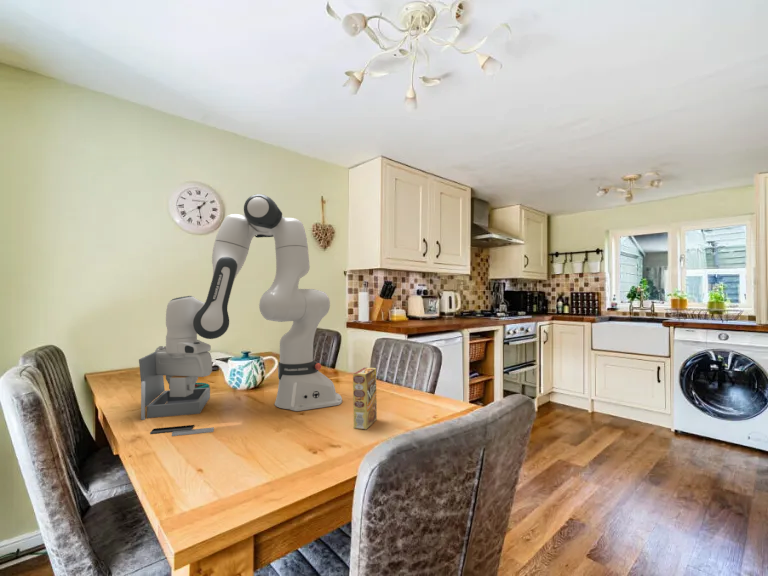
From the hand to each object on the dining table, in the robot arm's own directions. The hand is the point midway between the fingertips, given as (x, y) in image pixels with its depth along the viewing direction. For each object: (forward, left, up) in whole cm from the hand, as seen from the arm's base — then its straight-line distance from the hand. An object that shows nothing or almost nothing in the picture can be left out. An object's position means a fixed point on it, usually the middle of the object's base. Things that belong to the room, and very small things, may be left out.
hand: (181, 389), depth 118 cm
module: (0, 0, -2) cm, 2 cm away
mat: (-2, +15, -7) cm, 16 cm away
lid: (+8, 0, +5) cm, 9 cm away
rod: (-8, +22, -7) cm, 25 cm away
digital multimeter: (+3, -21, -7) cm, 22 cm away
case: (0, 0, -7) cm, 7 cm away
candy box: (-54, +29, -7) cm, 61 cm away
